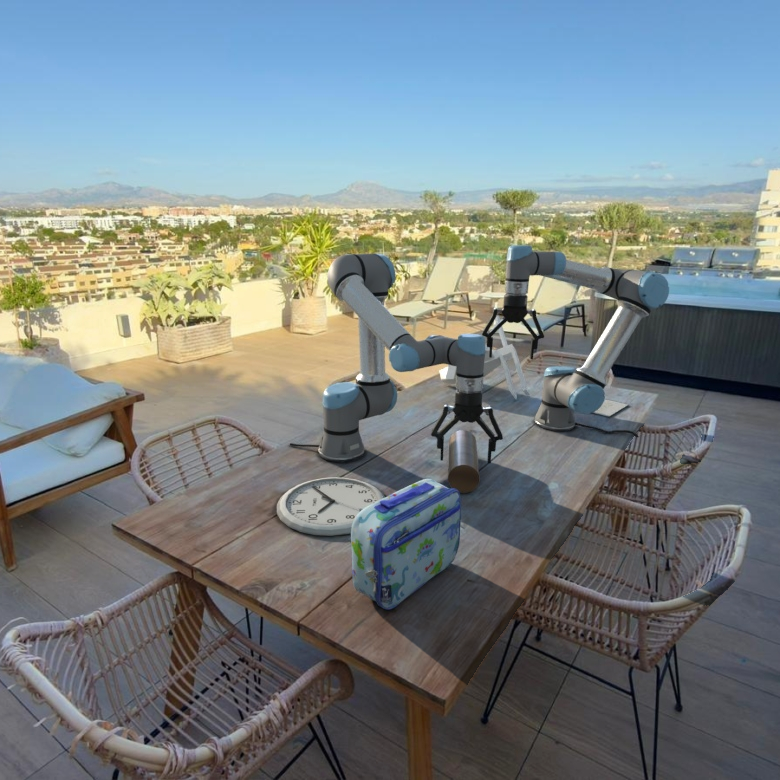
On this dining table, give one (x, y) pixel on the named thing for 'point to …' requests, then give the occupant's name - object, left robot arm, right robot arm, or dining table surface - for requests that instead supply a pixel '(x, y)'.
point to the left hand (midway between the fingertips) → (465, 460)
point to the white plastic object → (493, 364)
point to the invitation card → (610, 408)
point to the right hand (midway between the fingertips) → (510, 357)
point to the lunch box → (405, 541)
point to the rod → (463, 462)
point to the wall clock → (326, 505)
